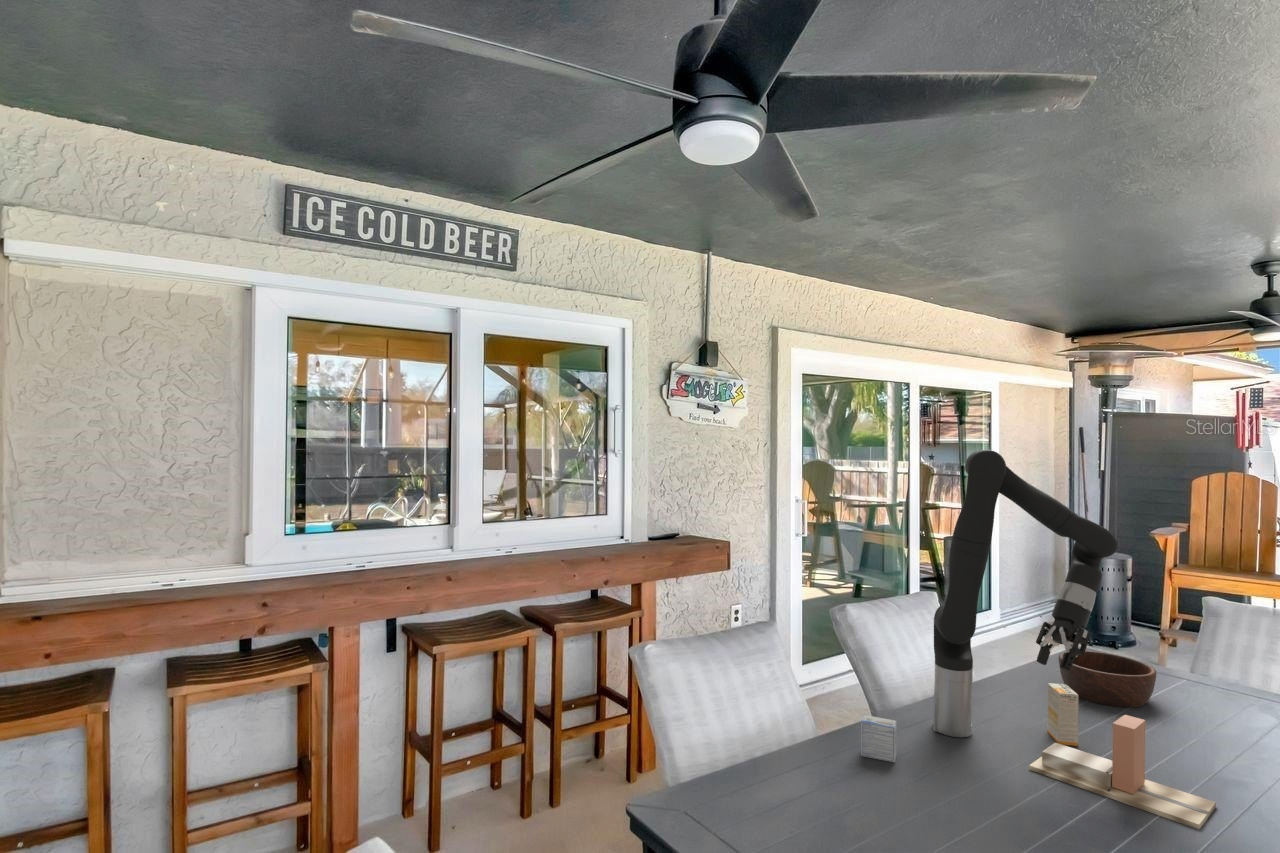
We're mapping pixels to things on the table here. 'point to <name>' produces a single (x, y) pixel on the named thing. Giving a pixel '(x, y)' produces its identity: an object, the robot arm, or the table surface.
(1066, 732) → the supplement box
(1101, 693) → the wooden bowl
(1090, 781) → the wooden base board
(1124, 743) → the salmon orange block
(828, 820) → the table surface
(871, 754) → the medicine box
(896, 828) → the table surface
